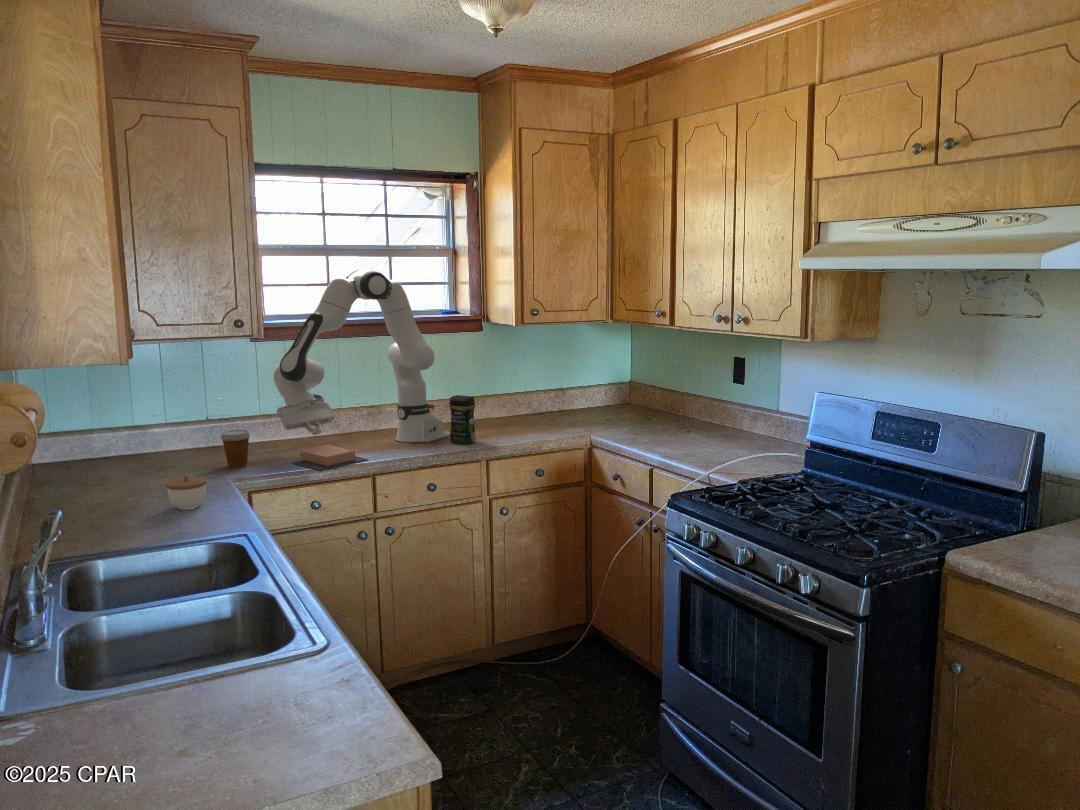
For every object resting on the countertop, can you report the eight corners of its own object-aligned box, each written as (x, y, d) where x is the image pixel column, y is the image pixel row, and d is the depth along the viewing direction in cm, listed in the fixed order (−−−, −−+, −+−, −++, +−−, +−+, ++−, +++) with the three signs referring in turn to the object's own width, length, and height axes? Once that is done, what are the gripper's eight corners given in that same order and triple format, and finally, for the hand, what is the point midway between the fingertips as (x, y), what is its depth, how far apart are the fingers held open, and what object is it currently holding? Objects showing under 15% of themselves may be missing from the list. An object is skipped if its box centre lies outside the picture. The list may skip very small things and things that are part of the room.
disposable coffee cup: (228, 470, 284) (226, 436, 282) (219, 465, 291) (216, 432, 289) (256, 466, 290) (253, 432, 288) (246, 461, 297) (243, 428, 295)
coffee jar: (446, 443, 323) (445, 396, 320) (458, 439, 330) (457, 393, 327) (467, 445, 319) (466, 397, 316) (478, 441, 326) (477, 394, 323)
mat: (339, 453, 308) (339, 452, 308) (368, 460, 297) (367, 459, 297) (292, 463, 293) (292, 462, 293) (320, 471, 282) (320, 469, 282)
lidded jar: (196, 499, 249) (194, 469, 247) (215, 506, 242) (212, 474, 241) (161, 508, 241) (158, 476, 239) (180, 514, 234) (177, 482, 233)
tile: (327, 444, 305) (354, 450, 295) (328, 453, 305) (355, 460, 295) (299, 450, 296) (326, 457, 286) (300, 459, 296) (326, 466, 286)
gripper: (277, 402, 293) (295, 432, 288) (326, 394, 308) (344, 423, 303) (271, 413, 297) (288, 443, 292) (320, 405, 312) (337, 434, 307)
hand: (317, 433), depth 298 cm, fingers closed
